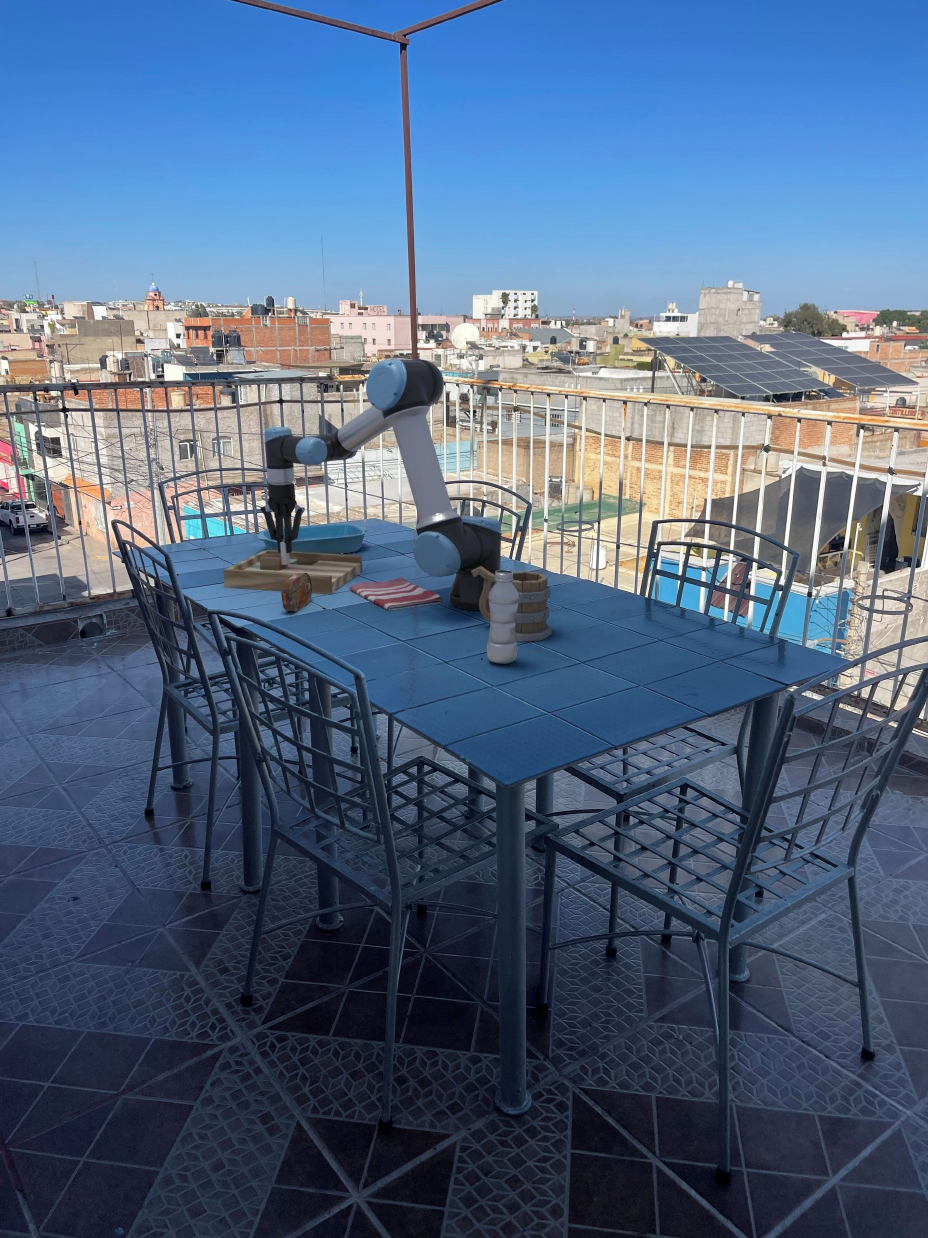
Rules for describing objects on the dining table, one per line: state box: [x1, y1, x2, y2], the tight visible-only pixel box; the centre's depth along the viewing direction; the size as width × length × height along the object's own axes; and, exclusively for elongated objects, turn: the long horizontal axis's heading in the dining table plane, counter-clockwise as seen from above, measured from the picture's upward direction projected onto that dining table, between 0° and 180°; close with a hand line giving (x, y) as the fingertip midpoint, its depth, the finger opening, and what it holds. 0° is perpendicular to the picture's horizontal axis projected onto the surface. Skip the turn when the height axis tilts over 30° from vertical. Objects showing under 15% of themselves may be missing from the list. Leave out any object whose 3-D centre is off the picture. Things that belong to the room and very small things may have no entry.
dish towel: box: [349, 577, 442, 612], centre depth 232 cm, size 17×23×3 cm
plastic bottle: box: [486, 569, 519, 665], centre depth 180 cm, size 6×7×20 cm
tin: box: [280, 573, 313, 613], centre depth 220 cm, size 15×3×8 cm, turn 168°
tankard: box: [471, 566, 553, 643], centre depth 202 cm, size 20×13×15 cm, turn 59°
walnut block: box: [260, 554, 288, 571], centre depth 249 cm, size 6×6×4 cm
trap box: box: [223, 549, 363, 595], centre depth 248 cm, size 27×32×5 cm
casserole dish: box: [256, 523, 368, 554], centre depth 285 cm, size 37×22×7 cm, turn 113°
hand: (285, 563), depth 248 cm, fingers closed
